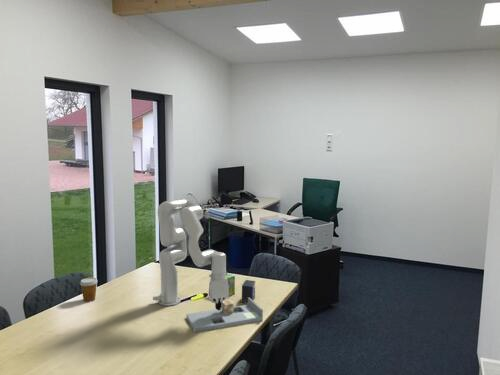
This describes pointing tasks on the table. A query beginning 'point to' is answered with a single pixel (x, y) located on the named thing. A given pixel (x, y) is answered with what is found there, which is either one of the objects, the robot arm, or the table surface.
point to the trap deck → (225, 317)
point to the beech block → (227, 307)
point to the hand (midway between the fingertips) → (218, 309)
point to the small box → (248, 291)
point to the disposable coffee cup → (89, 289)
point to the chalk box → (231, 283)
